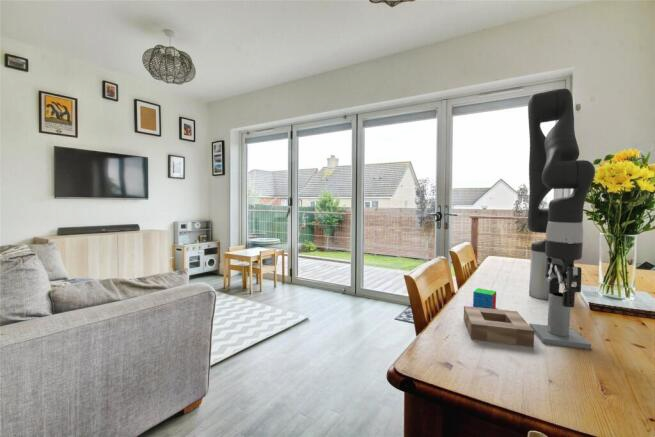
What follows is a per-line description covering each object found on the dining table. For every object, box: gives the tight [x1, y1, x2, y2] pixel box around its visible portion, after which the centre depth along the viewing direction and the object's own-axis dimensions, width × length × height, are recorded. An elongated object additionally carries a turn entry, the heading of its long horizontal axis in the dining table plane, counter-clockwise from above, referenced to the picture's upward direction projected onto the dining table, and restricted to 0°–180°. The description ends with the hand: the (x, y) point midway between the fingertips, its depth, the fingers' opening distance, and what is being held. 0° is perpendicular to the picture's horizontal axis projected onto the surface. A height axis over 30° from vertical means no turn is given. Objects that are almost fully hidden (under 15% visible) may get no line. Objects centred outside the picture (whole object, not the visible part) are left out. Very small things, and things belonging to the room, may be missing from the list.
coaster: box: [529, 323, 592, 350], centre depth 80 cm, size 10×10×1 cm
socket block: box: [463, 305, 535, 348], centre depth 83 cm, size 14×14×4 cm
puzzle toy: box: [472, 287, 497, 309], centre depth 102 cm, size 6×6×6 cm
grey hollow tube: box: [547, 291, 571, 336], centre depth 80 cm, size 4×4×10 cm
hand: (560, 301), depth 80 cm, fingers open, 8 cm apart
